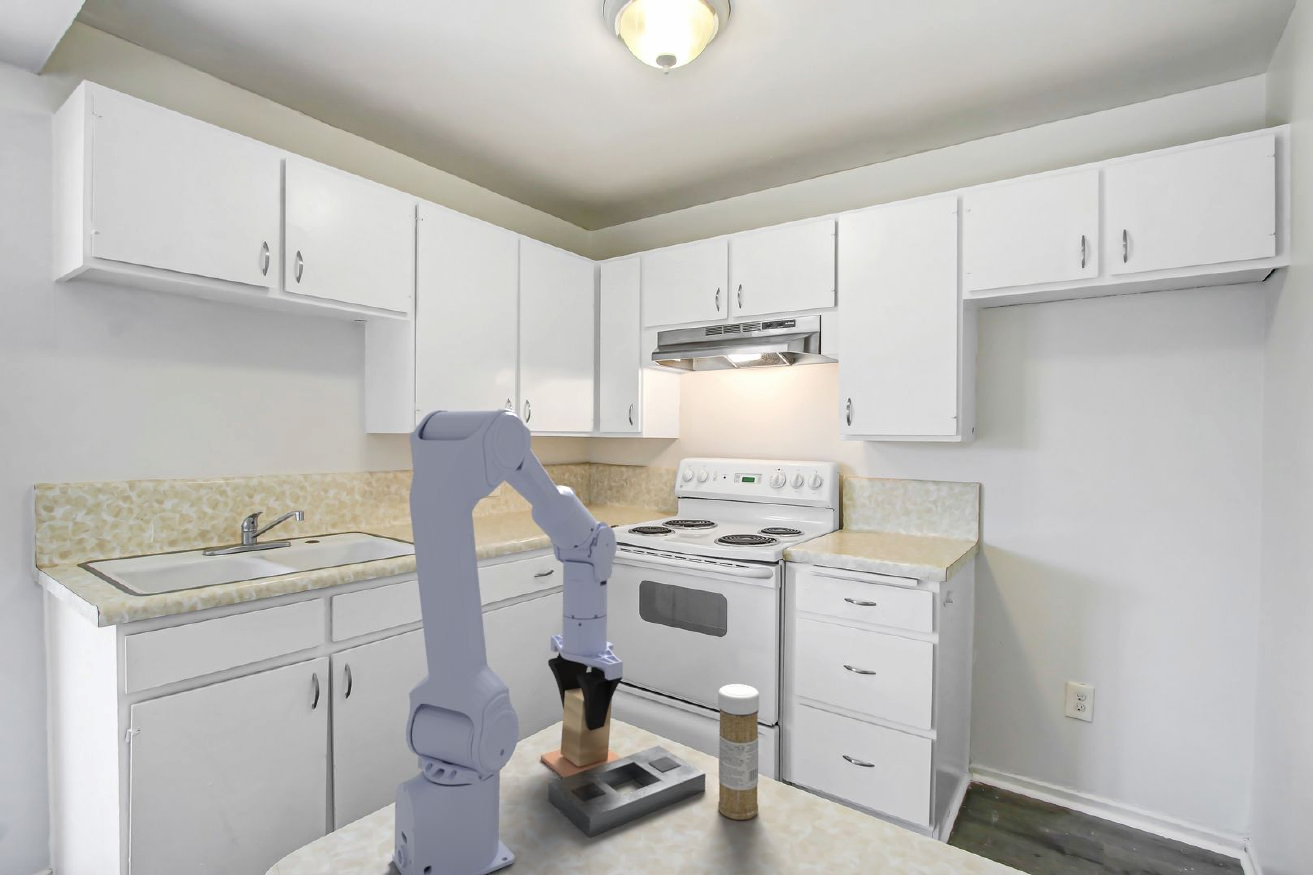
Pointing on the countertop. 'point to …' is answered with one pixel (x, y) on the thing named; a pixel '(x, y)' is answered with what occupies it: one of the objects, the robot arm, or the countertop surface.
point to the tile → (569, 768)
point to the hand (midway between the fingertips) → (583, 719)
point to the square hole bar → (605, 808)
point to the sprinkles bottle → (738, 751)
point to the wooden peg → (582, 732)
